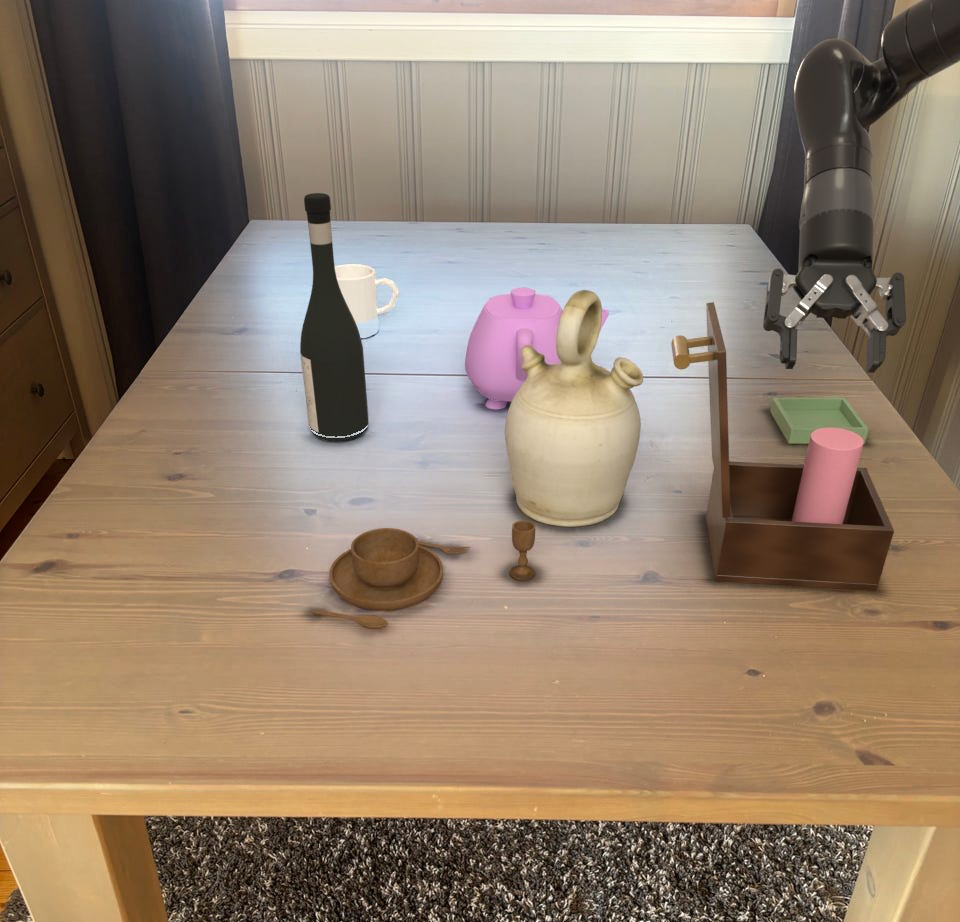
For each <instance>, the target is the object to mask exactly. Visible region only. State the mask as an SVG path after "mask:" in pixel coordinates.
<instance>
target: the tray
mask: <svg viewBox="0 0 960 922" xmlns="http://www.w3.org/2000/svg"><path fill="white" fill-rule="evenodd" d="M769 412H770V414H771V416H772V418H773V419H774V421H775V423H776V424H777V427H778V428H779V430H780V431H781V433H782V435H783V436H784V438H785V441H786V442H787V444H788V445H789V444H792V445H793V444H803V445H805V444H806V445H807V444H808V445H809V441H810V436H811V434H812V432H813V431H815V430H817V429H821V428H841V429H845V430H849V431H852V432H854V433H856V434H858V435H859V436H861V437H862V439H863V441H864V444H866V441H867V438H868V435H869V430H870V429H869V427H868V426H867V424H866V423H865V422H864V421H863V419H862V418H861V416H860V415H859V413H858V412H857V410H855V408H854V407H853V406H852V404H851V403H850V402H849V400H848V399H847V398H846V397H844V396H843V397H772V399H771V405H770V410H769Z"/></svg>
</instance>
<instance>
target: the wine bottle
mask: <svg viewBox="0 0 960 922" xmlns="http://www.w3.org/2000/svg"><path fill="white" fill-rule="evenodd" d="M303 203H304V211H305V212H306V219H307V226H308V227H307V228H308V237H309V244H310V254H311V255H310V256H311V262H312V263H311V264H312V265H311V266H312V285H311V292H310V296H309V301H308V305H307V309H306V313H305V316H304V319H303V324H302V327H301V333H300V344H299V352H300V353H299V354H300V362H301V363H300V364H301V372H302V380H303V388H304V396H305V403H306V404H305V405H306V406H305V407H306V412H307V413H306V414H307V421H308V427H309V426H310V428H311V430H313V431H315V432H316V433H318V434H322V435H325V436H335V437H337V436H347V435H351V434H353V433H356V432H358V431H361V430H362V429H364V428H365V427H366V426H367V425H368V427H367V428H366V429H365V430H364V431H363V432H361V433H359V434H357V435H354V436H350V437H345V438H326V437H322V436H318V435H316V434H314V433H313V432H312V431H311V430H310V432H311V434H312V435H313V436H314V437H316V438H318V439H319V440H322V441H325V442H328V443H329V442H330V443H342V442H349V441H353V440H355V439H358V438H359V437H362V436H363V435H364V434H365V433H366V432H367V431H368V428H369V408H368V395H367V381H366V369H365V368H366V367H365V355H364V347H363V342H362V339H361V337H360V333H359V330H358V327H357V325H356V322H355V320H354V318H353V316H352V314H351V312H350V310H349V308H348V306H347V304H346V301H345V299H344V297H343V295H342V293H341V290H340V287H339V284H338V281H337V277H336V273H335V266H336V265H335V256H334V243H333V234H332V233H333V231H332V222H331V211H332V206H331V196H330V195H328V193H324V192H313V193H308V194H306V195H304V197H303ZM310 428H309V429H310Z"/></svg>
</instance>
